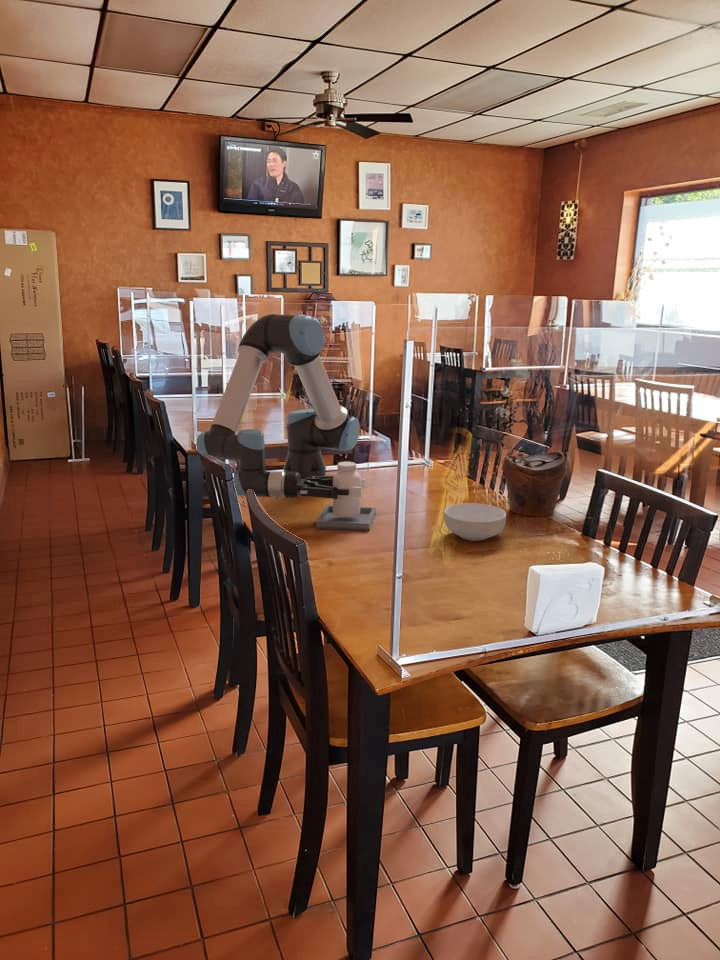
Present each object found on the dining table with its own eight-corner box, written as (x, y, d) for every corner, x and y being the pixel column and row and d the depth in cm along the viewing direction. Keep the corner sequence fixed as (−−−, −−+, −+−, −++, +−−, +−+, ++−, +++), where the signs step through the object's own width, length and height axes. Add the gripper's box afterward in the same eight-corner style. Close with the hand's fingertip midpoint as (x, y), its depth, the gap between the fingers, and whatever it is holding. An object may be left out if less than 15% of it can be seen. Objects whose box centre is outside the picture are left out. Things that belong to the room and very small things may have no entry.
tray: (326, 511, 220) (326, 505, 220) (375, 514, 218) (375, 507, 218) (316, 528, 206) (316, 521, 206) (369, 530, 204) (369, 523, 204)
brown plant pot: (485, 510, 221) (489, 452, 216) (525, 497, 234) (530, 443, 229) (534, 525, 208) (540, 465, 203) (574, 511, 221) (580, 454, 216)
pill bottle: (360, 518, 208) (360, 467, 204) (332, 518, 208) (331, 467, 204) (361, 509, 215) (360, 460, 211) (333, 509, 216) (333, 460, 211)
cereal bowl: (504, 549, 190) (506, 523, 188) (440, 544, 194) (441, 519, 192) (505, 527, 206) (506, 503, 204) (446, 524, 210) (446, 500, 208)
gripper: (294, 487, 223) (368, 490, 220) (276, 508, 203) (357, 511, 200) (293, 463, 221) (368, 465, 218) (276, 482, 201) (357, 485, 198)
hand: (363, 487), depth 209 cm, fingers closed on pill bottle, 8 cm apart
